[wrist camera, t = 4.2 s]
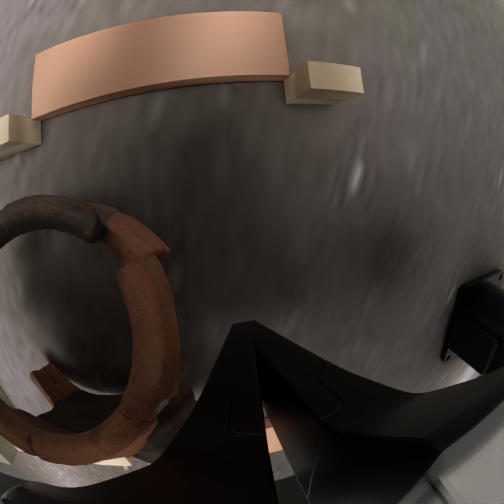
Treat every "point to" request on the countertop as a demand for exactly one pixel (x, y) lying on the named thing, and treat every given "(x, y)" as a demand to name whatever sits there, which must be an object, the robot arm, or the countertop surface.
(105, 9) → the countertop surface
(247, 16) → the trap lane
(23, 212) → the pottery mug
